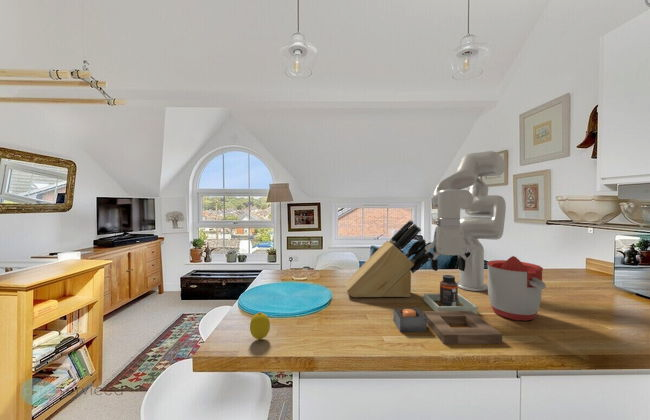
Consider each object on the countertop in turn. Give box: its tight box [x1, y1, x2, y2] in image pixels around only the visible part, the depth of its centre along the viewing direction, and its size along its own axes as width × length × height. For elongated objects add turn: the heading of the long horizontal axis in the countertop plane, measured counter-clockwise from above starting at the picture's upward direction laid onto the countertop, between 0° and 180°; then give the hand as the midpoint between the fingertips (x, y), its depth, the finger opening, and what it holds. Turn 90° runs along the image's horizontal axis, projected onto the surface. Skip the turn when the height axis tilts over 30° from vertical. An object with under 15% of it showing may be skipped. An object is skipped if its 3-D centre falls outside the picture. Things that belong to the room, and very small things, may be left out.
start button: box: [403, 309, 416, 317], centre depth 85 cm, size 4×4×4 cm
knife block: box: [344, 219, 433, 298], centre depth 114 cm, size 11×35×31 cm, turn 89°
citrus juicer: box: [486, 255, 547, 321], centre depth 92 cm, size 16×17×20 cm
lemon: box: [249, 311, 271, 341], centre depth 78 cm, size 6×6×8 cm
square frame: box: [422, 310, 503, 345], centre depth 82 cm, size 16×16×2 cm
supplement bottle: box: [439, 274, 459, 306], centre depth 100 cm, size 6×6×11 cm
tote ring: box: [423, 292, 478, 315], centre depth 100 cm, size 14×14×2 cm
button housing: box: [392, 307, 428, 333], centre depth 85 cm, size 8×8×4 cm
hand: (448, 270), depth 99 cm, fingers open, 9 cm apart
